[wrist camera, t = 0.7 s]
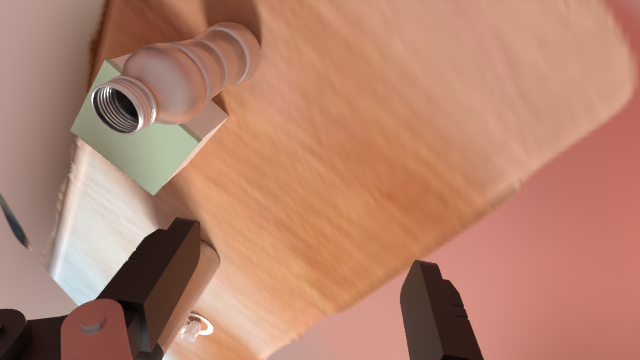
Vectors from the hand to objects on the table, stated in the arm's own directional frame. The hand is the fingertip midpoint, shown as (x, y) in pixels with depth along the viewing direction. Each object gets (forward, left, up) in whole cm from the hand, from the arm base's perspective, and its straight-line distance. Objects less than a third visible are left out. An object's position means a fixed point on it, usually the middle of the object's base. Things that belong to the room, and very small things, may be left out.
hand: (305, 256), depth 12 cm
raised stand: (-24, +14, -29) cm, 40 cm away
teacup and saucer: (-68, -14, -30) cm, 76 cm away
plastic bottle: (-10, +12, -29) cm, 33 cm away
